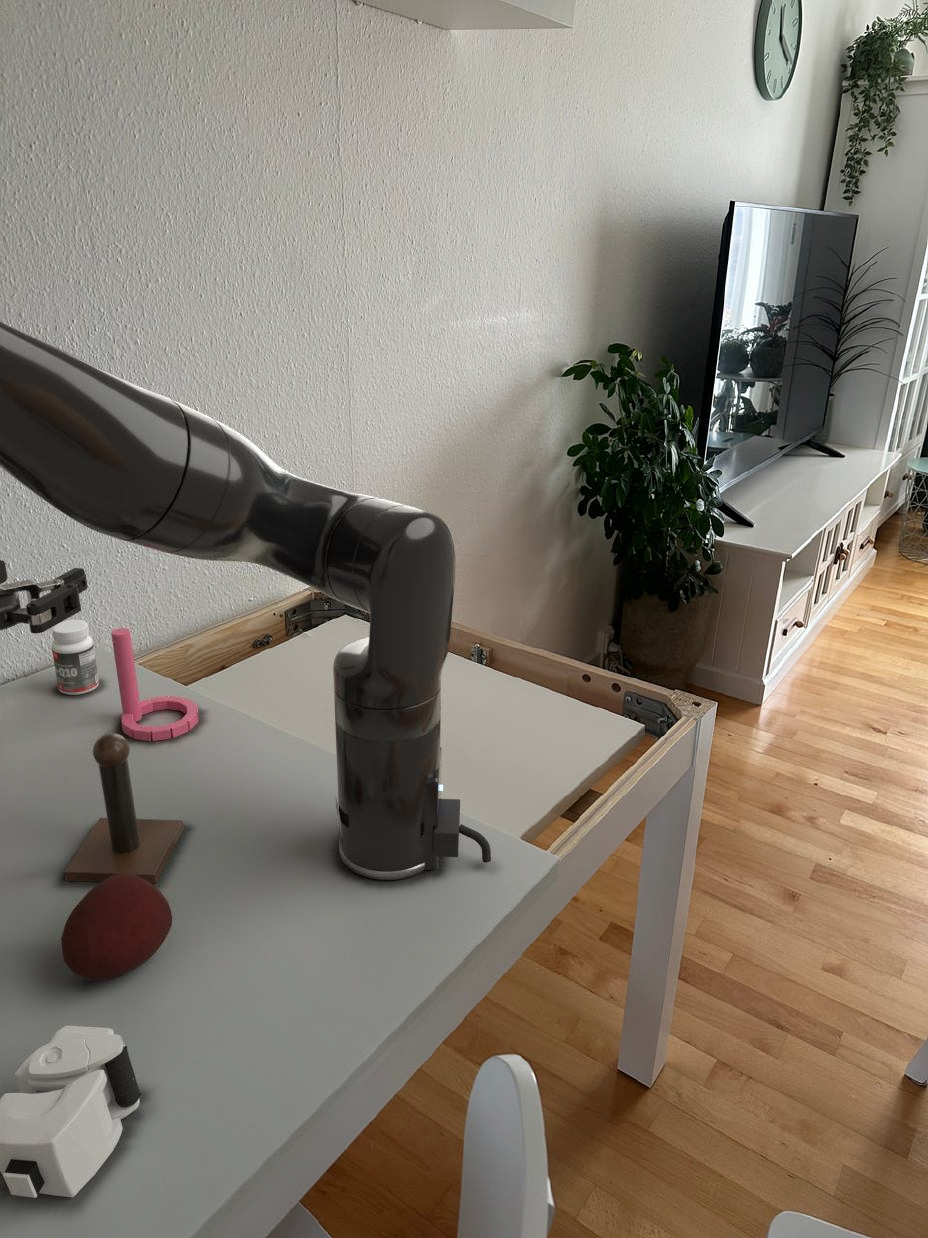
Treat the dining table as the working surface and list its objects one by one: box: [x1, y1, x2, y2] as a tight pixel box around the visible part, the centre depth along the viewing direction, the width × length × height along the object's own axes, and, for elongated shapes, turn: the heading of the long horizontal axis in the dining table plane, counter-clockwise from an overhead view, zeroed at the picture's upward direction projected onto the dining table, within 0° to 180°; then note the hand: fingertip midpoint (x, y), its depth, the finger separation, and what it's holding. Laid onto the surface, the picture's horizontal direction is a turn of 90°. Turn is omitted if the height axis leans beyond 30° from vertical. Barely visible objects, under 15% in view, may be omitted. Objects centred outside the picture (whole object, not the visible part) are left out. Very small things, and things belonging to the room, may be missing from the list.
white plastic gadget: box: [0, 1025, 142, 1199], centre depth 55 cm, size 6×7×10 cm
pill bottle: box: [51, 619, 100, 696], centre depth 110 cm, size 5×5×8 cm
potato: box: [60, 874, 173, 982], centre depth 69 cm, size 7×8×7 cm
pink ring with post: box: [110, 627, 200, 742], centre depth 102 cm, size 9×8×11 cm
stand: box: [63, 732, 185, 885], centre depth 80 cm, size 8×8×12 cm
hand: (42, 573), depth 86 cm, fingers open, 8 cm apart
